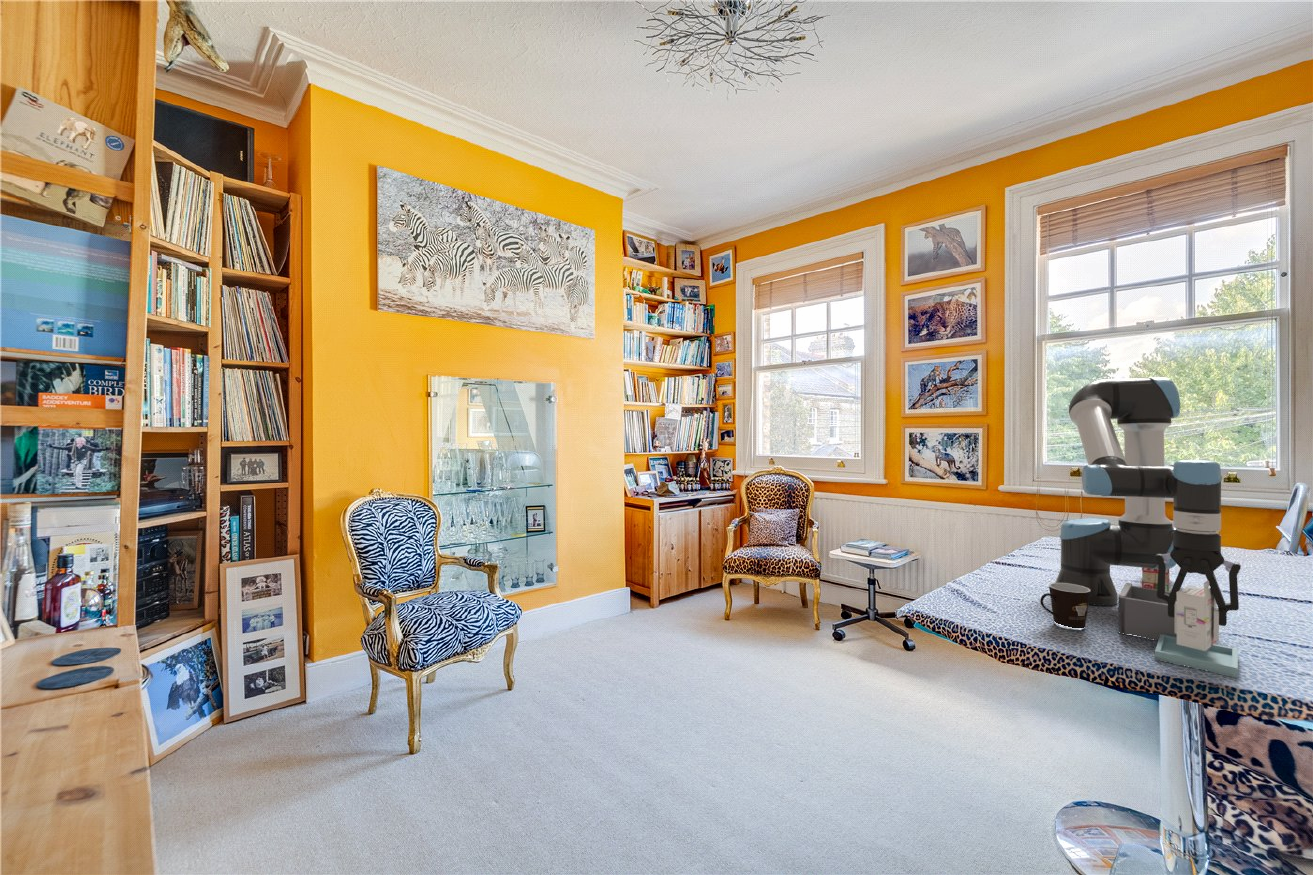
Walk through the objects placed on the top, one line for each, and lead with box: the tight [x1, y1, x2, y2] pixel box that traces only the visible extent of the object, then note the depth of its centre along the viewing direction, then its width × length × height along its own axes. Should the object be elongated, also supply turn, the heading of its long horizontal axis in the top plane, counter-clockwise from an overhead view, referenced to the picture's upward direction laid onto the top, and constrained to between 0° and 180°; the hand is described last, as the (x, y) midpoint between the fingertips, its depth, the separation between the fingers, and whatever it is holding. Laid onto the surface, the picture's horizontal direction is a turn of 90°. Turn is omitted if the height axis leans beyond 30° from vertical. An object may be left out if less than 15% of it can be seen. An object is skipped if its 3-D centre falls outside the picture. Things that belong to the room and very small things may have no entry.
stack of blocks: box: [1141, 567, 1170, 591], centre depth 177 cm, size 21×6×12 cm, turn 137°
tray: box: [1154, 634, 1239, 679], centre depth 123 cm, size 13×14×2 cm
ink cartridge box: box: [1176, 580, 1218, 651], centre depth 122 cm, size 9×5×15 cm, turn 124°
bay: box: [1117, 582, 1177, 641], centre depth 137 cm, size 16×14×10 cm
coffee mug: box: [1039, 582, 1091, 628], centre depth 144 cm, size 12×9×10 cm
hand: (1196, 635), depth 122 cm, fingers closed on ink cartridge box, 5 cm apart
